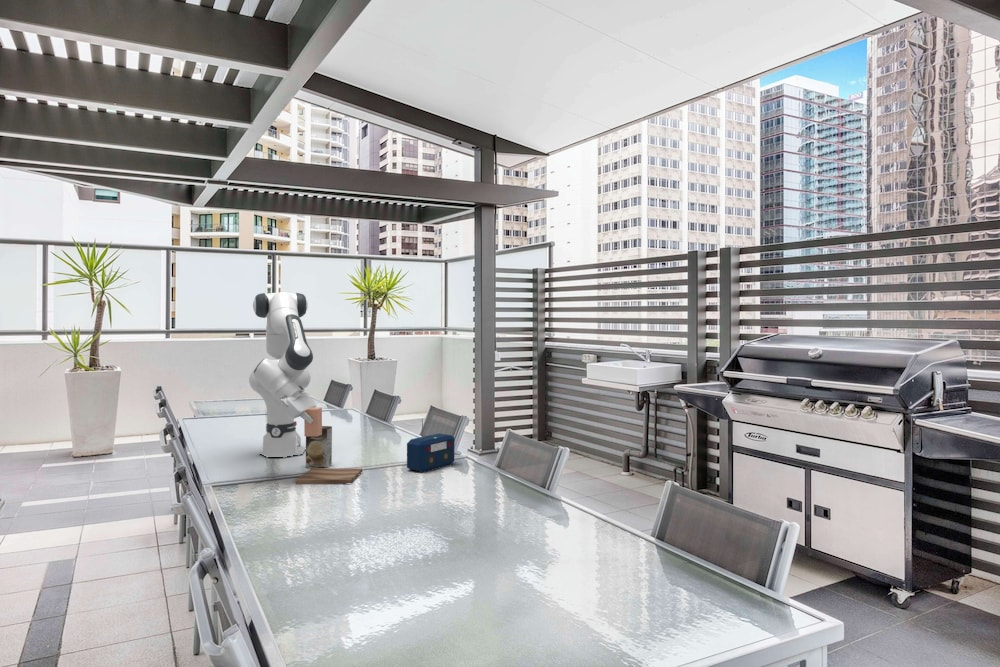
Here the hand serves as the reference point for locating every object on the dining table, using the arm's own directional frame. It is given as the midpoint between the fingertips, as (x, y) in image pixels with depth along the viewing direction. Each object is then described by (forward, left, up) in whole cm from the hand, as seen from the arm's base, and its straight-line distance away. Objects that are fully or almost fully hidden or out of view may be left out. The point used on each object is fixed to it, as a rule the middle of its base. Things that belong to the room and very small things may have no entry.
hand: (315, 420), depth 240 cm
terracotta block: (0, -1, -5) cm, 5 cm away
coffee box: (-20, -5, -22) cm, 30 cm away
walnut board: (-1, +5, -22) cm, 22 cm away
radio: (-19, +41, -22) cm, 51 cm away
